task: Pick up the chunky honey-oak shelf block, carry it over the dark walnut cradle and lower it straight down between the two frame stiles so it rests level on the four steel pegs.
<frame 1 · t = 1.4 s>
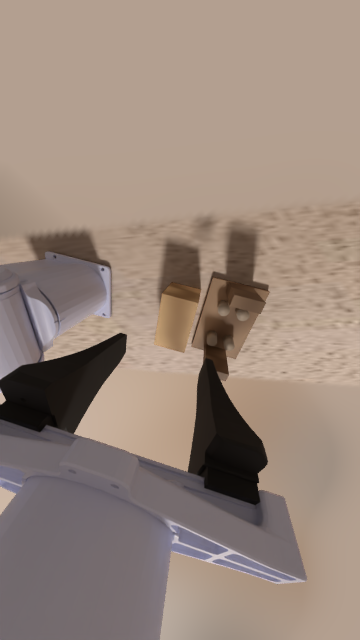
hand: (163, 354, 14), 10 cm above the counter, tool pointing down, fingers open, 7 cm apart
cradle: (225, 321, 22), on the counter
board: (181, 308, 23), on the counter
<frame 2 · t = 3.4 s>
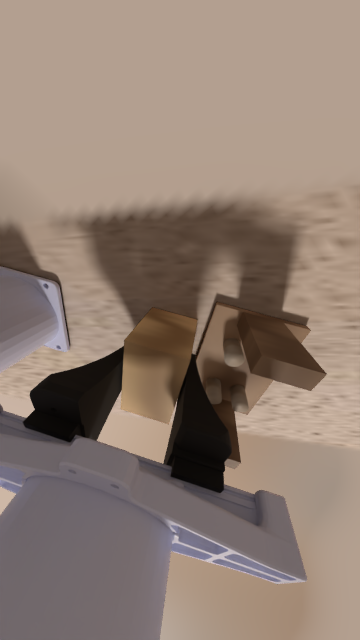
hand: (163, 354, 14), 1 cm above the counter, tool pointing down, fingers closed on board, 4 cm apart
cradle: (233, 364, 15), on the counter
board: (167, 345, 15), on the counter, touching gripper
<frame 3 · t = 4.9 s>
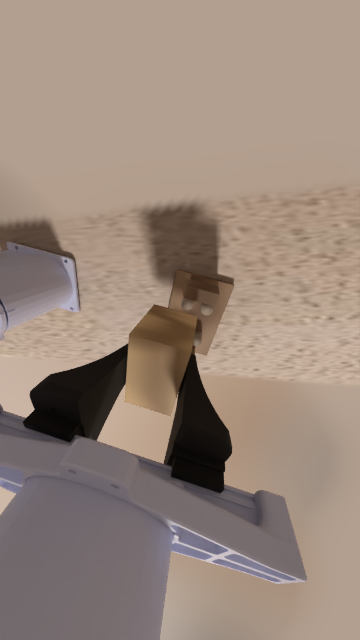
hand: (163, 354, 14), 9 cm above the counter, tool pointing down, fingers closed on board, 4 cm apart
cradle: (193, 315, 22), on the counter
board: (168, 341, 16), point 7 cm above the counter, touching gripper
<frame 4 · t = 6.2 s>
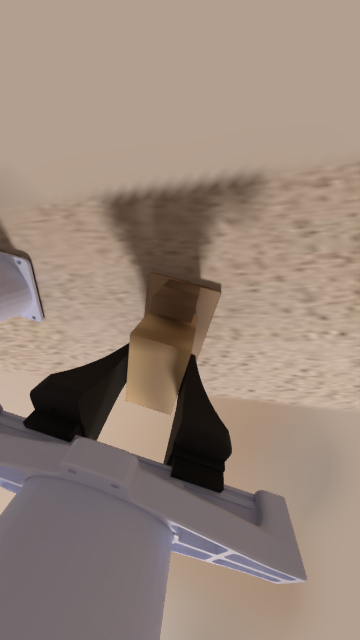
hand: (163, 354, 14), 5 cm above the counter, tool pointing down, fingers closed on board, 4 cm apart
cradle: (174, 328, 18), on the counter
board: (169, 340, 16), point 2 cm above the counter, touching gripper
when the fingers open (5 cm above the counter, at t = 6.7 s): board stays where it is, resting on cradle.
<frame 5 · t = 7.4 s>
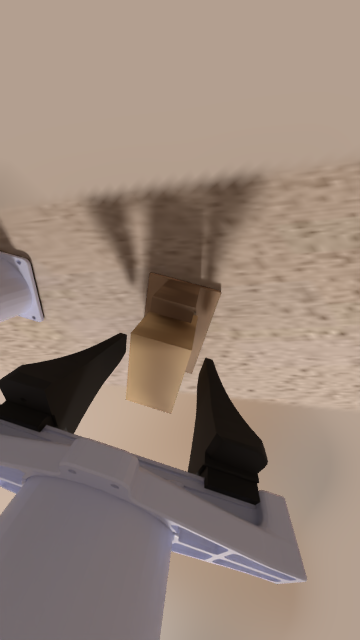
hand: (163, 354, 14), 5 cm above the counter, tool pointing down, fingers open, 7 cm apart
cradle: (174, 328, 18), on the counter
board: (169, 340, 16), point 2 cm above the counter, touching cradle
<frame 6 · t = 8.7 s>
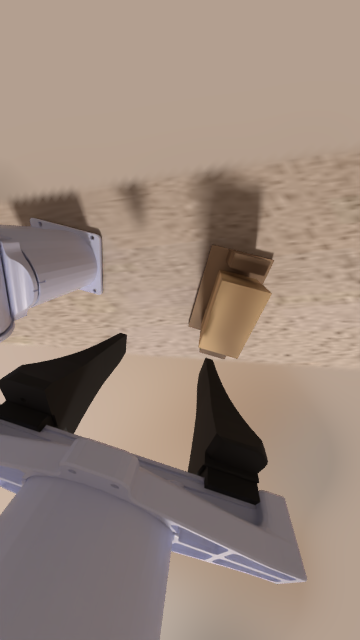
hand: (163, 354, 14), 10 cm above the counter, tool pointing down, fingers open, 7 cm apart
cradle: (224, 296, 21), on the counter
board: (226, 303, 19), point 2 cm above the counter, touching cradle
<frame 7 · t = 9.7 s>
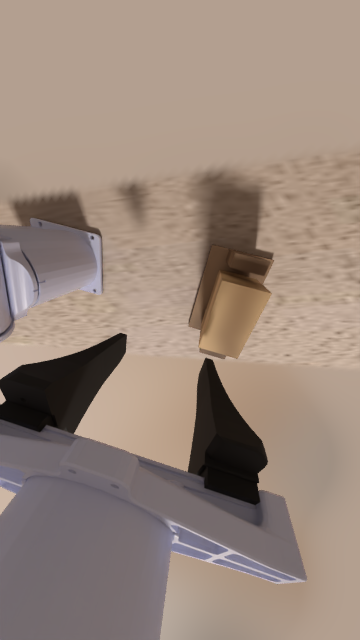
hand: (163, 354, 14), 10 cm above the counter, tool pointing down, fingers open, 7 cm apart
cradle: (224, 296, 21), on the counter
board: (226, 303, 19), point 2 cm above the counter, touching cradle
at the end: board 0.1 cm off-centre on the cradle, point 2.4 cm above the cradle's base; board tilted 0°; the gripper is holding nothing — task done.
